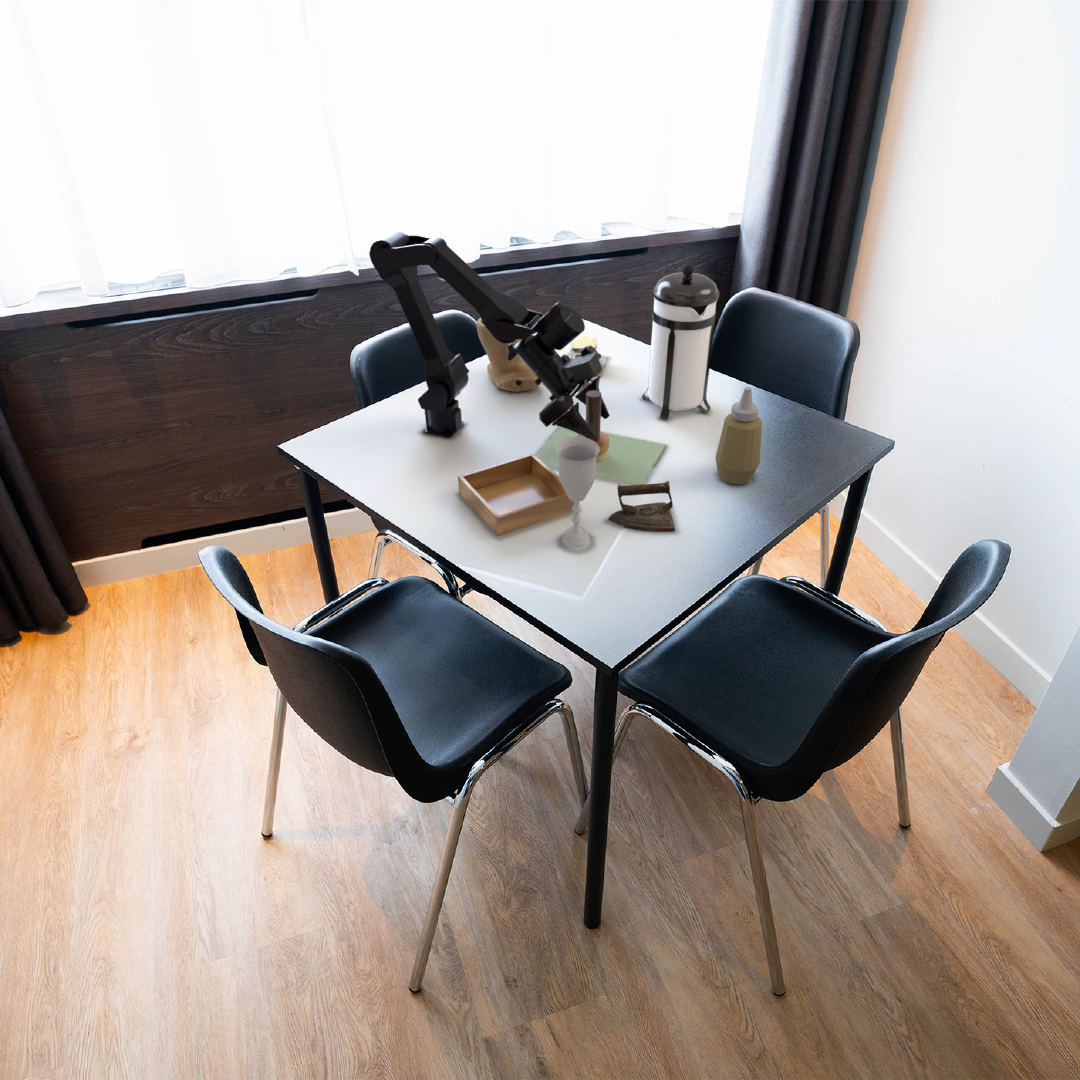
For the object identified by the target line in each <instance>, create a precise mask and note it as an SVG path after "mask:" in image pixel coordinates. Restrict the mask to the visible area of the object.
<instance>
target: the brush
mask: <svg viewBox="0 0 1080 1080" xmlns="http://www.w3.org/2000/svg"><path fill="white" fill-rule="evenodd" d="M601 396H602V392H601V391H600V392H599V391H596V390H591V391H588V392H587V393H586V405H585V421H586V423H587V424H588V425H589V427H590V428H591V430H592V431H593V433H594V435H595V436H594V437H593V438H592V439H590V440H593V441H594V442H596V443H597V444H598V446H599V447H600V451H599V453H598V455H597V456H596V463H597V462H601V461H603V460H605V459H606V458H607V456H608V448H609V436H608V435H607V434H605V433H606V432H603V431H601V422H602V421H601V418H602V417H601ZM576 437H583V438H587V437H585V436H583V435H580V434H578V435H577V436H576ZM588 439H589V438H588Z"/></svg>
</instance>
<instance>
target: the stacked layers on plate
mask: <svg viewBox="0 0 1080 1080" xmlns="http://www.w3.org/2000/svg"><path fill="white" fill-rule="evenodd" d="M590 345H591V346H592V347H593V348H594V349H595V350H596V351H597V348H598V337H594V336H584V335H580V336H578V337H577V338H575V339H574V340H573V341H571V342H570V343H569V347H570V349H569V353H570V354H569V355H568V357H569V358H570V359H571V360H572V359H575V358H577V357H578V356H581V350H582V349H583V348H584V347H586V346H590ZM607 359H608V357H603V356H601V358H600V359H599V361H600V364H601V366H602V369H603V368H604V365H605V363H606V362H607ZM600 373H601V372H600ZM600 373H599V374H598V375H597V376H596V377H598V376H599V375H601V374H600Z"/></svg>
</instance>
